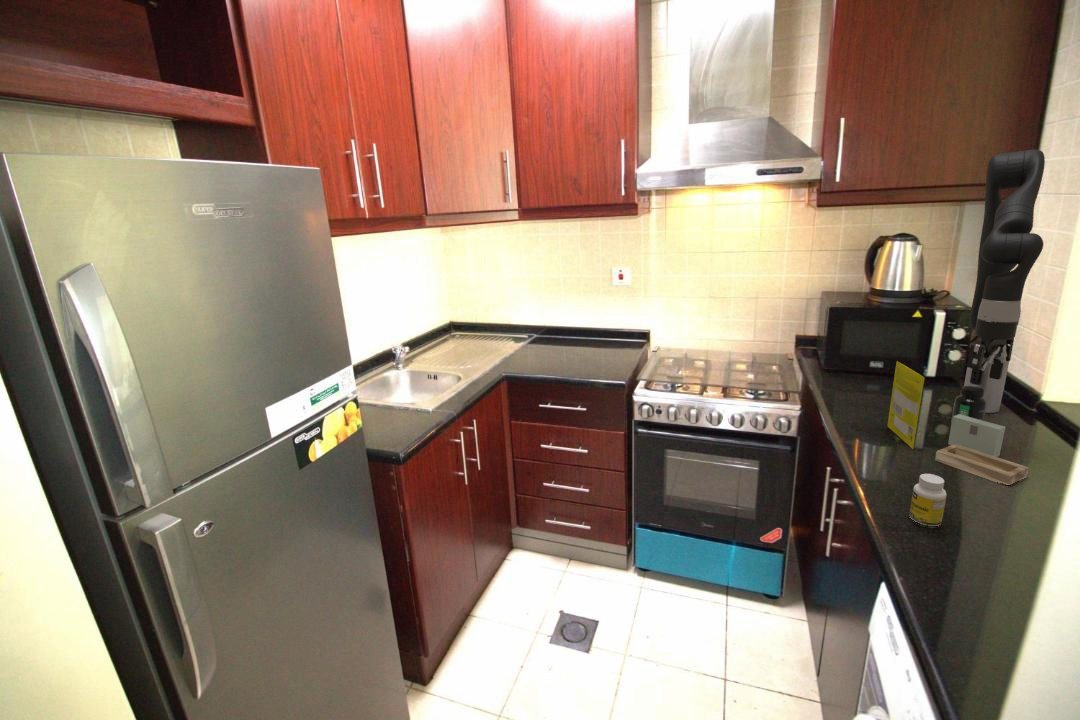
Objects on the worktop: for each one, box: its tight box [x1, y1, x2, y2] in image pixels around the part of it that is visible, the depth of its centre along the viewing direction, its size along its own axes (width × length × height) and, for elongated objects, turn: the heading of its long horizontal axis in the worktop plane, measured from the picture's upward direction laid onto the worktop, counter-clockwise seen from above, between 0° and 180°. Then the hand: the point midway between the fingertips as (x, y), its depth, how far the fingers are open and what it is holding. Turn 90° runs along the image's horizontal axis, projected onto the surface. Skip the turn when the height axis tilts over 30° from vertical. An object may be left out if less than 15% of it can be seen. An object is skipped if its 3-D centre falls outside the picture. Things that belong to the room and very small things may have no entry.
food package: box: [887, 360, 925, 450], centre depth 139 cm, size 15×1×20 cm, turn 168°
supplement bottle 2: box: [950, 385, 987, 426], centre depth 143 cm, size 7×7×12 cm
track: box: [934, 444, 1030, 485], centre depth 123 cm, size 8×15×3 cm, turn 25°
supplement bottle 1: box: [908, 473, 947, 527], centre depth 104 cm, size 5×5×10 cm
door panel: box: [947, 414, 1006, 458], centre depth 132 cm, size 3×10×8 cm, turn 25°
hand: (985, 381), depth 128 cm, fingers open, 8 cm apart
